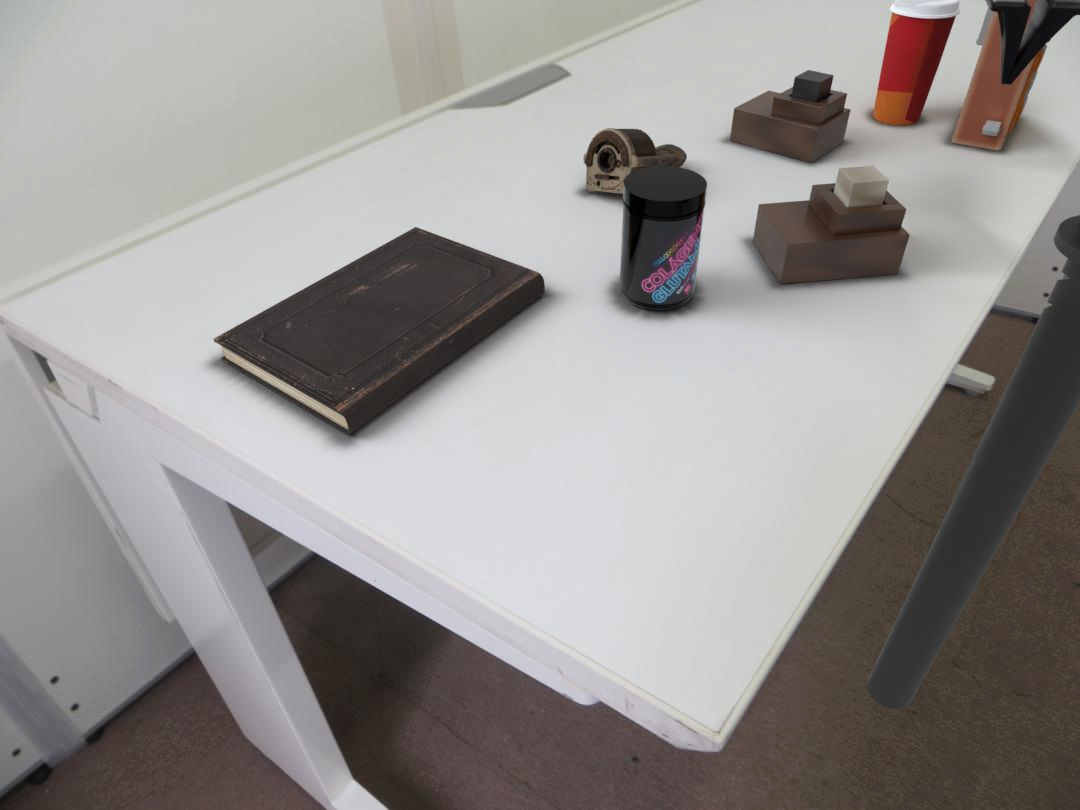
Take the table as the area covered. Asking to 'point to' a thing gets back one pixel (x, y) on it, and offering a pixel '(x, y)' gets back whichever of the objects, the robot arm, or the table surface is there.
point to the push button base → (791, 124)
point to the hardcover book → (378, 325)
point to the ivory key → (860, 186)
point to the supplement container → (661, 236)
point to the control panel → (993, 92)
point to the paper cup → (912, 57)
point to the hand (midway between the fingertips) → (1005, 83)
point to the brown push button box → (830, 237)
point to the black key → (812, 86)
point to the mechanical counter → (624, 157)
